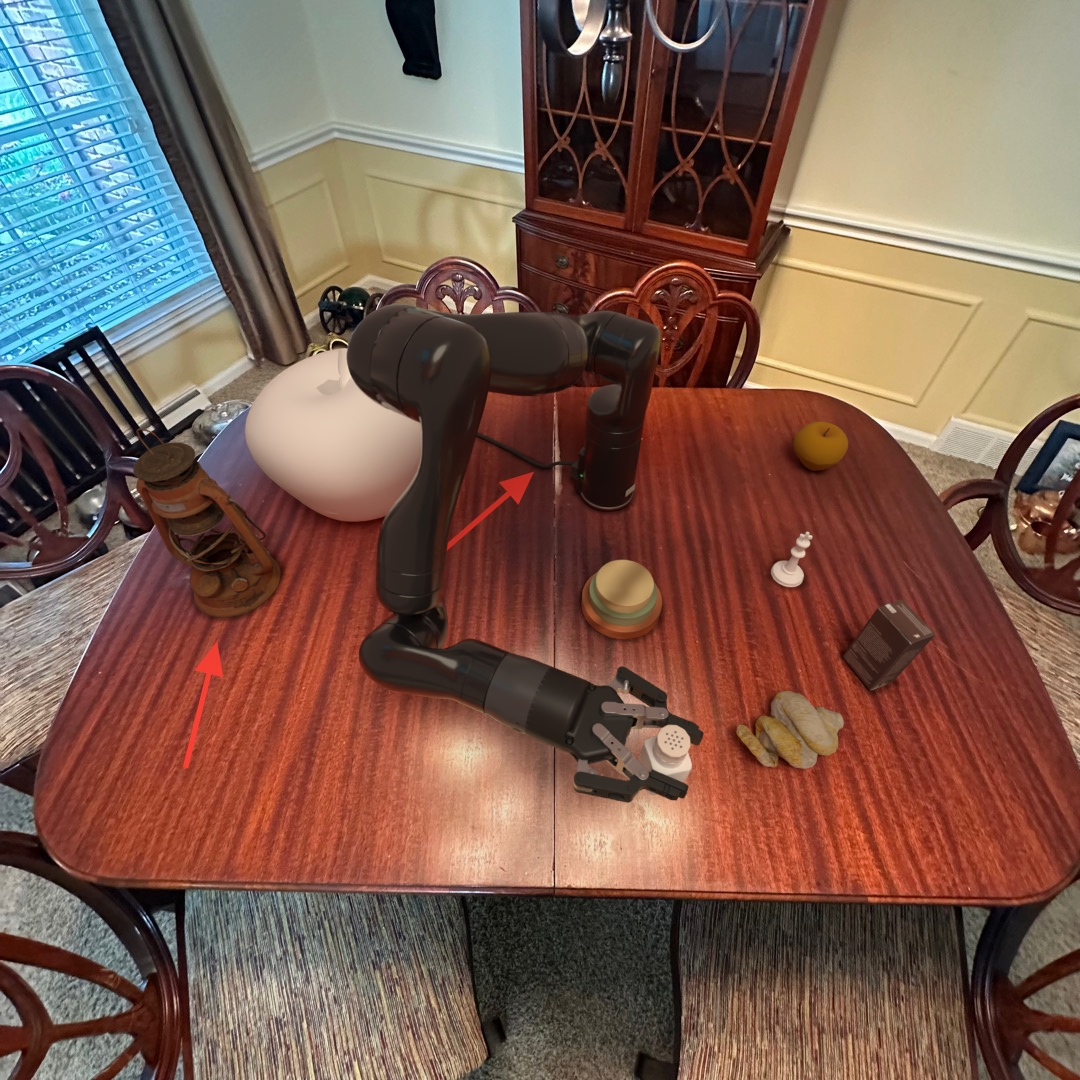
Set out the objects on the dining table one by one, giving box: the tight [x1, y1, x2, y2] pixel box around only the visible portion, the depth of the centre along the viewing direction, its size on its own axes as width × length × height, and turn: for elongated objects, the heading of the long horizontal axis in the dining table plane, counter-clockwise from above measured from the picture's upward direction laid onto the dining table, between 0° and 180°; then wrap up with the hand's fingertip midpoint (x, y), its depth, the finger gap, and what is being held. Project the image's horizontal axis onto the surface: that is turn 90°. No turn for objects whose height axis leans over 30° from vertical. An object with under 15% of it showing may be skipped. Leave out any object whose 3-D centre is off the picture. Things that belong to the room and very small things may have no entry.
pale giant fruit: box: [244, 347, 422, 523], centre depth 98 cm, size 28×27×25 cm
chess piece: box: [770, 531, 813, 588], centre depth 92 cm, size 5×5×10 cm
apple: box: [792, 420, 849, 472], centre depth 109 cm, size 9×9×9 cm
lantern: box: [132, 427, 281, 619], centre depth 83 cm, size 17×13×30 cm
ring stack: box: [580, 559, 663, 640], centre depth 89 cm, size 12×12×6 cm
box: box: [842, 599, 937, 691], centre depth 80 cm, size 6×4×12 cm
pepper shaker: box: [637, 725, 693, 796], centre depth 61 cm, size 4×4×10 cm
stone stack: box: [736, 690, 845, 770], centre depth 76 cm, size 10×6×15 cm
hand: (693, 764), depth 59 cm, fingers closed on pepper shaker, 5 cm apart
